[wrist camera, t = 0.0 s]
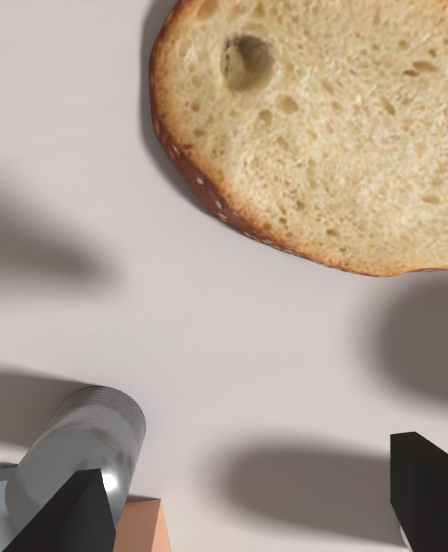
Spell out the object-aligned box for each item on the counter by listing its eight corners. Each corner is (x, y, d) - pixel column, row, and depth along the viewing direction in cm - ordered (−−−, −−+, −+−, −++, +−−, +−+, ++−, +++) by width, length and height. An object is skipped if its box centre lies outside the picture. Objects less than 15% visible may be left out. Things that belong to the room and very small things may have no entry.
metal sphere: (152, 457, 20) (132, 541, 15) (68, 467, 20) (21, 553, 15) (137, 380, 19) (110, 445, 14) (47, 391, 19) (-10, 459, 14)
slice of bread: (614, 187, 17) (719, 186, 14) (305, 366, 19) (325, 406, 16) (477, -208, 14) (572, -352, 10) (110, 65, 16) (78, 26, 12)
